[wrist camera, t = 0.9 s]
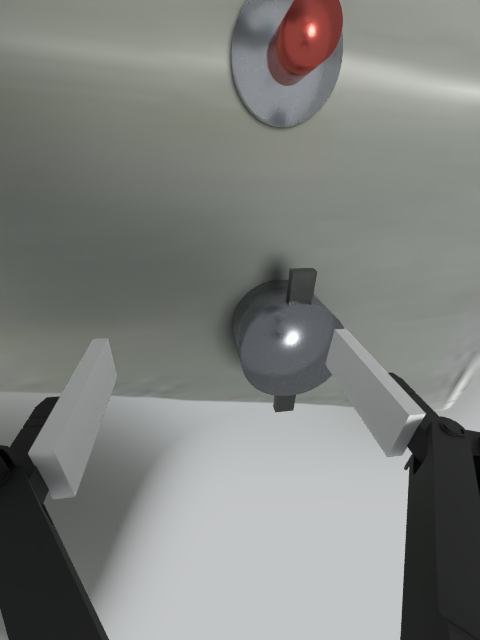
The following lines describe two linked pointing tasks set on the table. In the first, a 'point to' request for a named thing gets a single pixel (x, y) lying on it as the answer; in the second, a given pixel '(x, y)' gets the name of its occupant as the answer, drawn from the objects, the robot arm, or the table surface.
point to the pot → (284, 337)
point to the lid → (287, 58)
